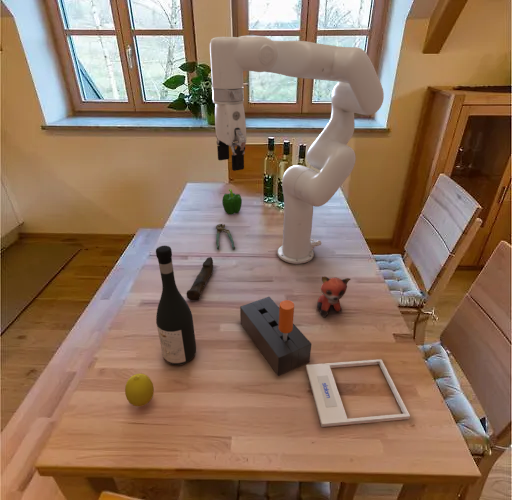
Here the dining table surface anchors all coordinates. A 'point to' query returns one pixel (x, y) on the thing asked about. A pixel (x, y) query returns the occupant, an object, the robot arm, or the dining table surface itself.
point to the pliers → (221, 229)
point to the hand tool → (200, 280)
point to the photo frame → (330, 399)
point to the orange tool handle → (286, 318)
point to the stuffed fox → (331, 294)
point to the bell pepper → (232, 202)
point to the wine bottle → (173, 315)
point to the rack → (274, 336)
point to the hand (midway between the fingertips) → (230, 164)
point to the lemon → (139, 389)
